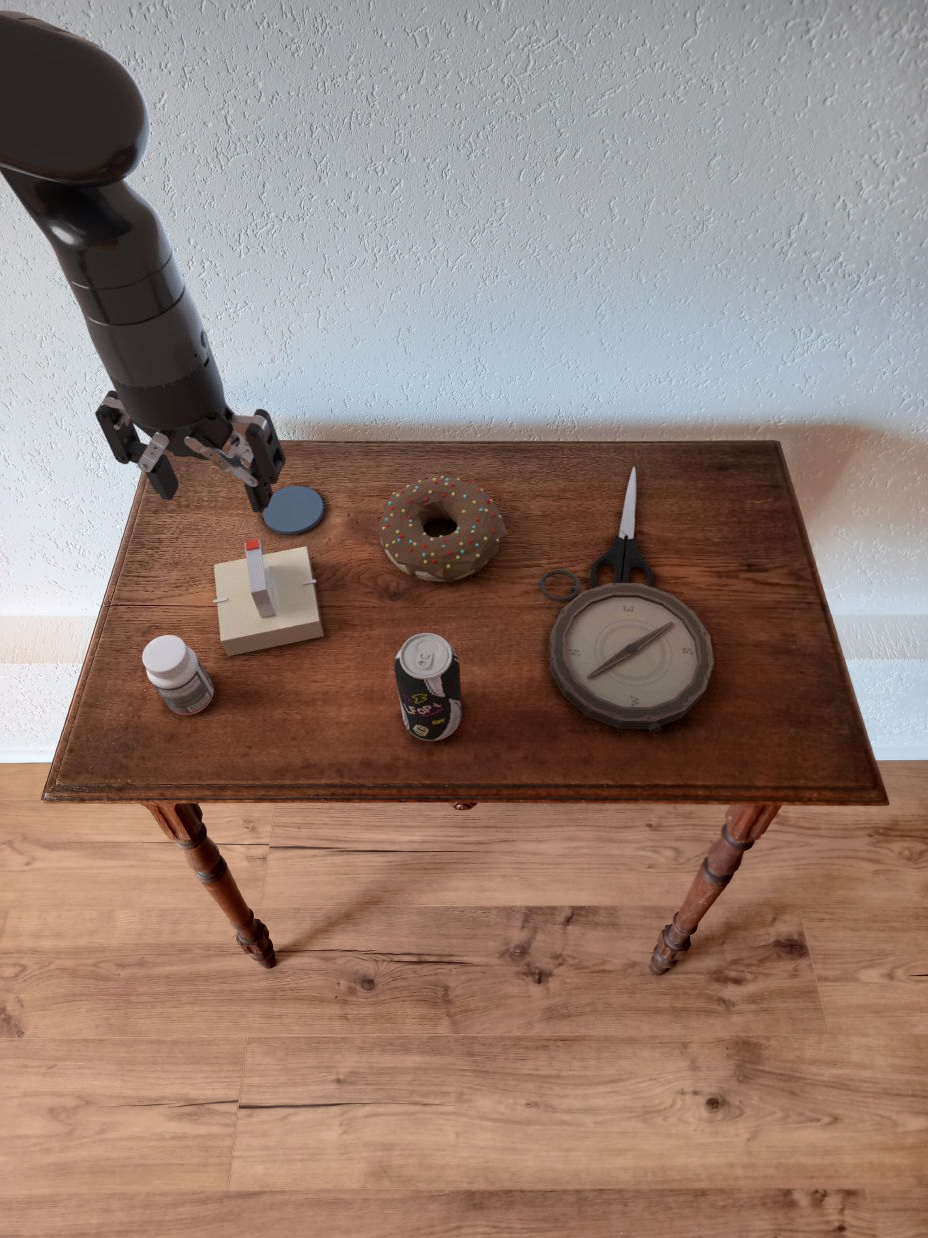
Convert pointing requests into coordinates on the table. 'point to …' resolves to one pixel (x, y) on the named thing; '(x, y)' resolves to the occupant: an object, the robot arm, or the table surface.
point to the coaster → (293, 510)
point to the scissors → (631, 551)
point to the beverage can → (429, 686)
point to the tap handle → (259, 578)
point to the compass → (628, 654)
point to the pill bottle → (177, 675)
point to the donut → (445, 553)
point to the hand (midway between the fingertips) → (216, 499)
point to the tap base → (290, 597)
